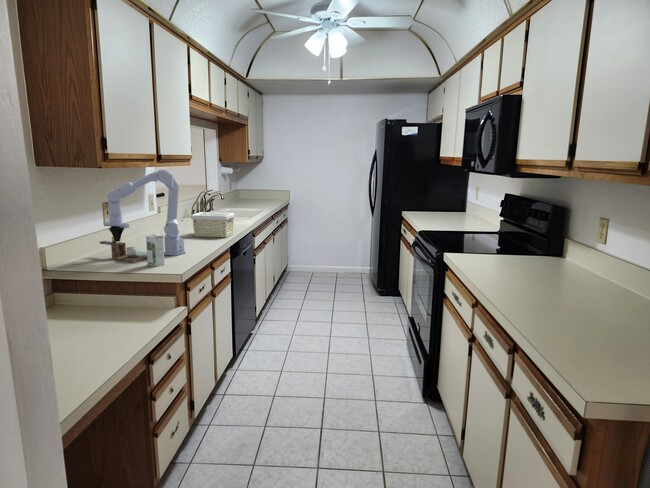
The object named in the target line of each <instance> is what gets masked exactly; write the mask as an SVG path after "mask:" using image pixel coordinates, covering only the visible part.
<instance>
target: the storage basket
mask: <svg viewBox="0 0 650 488" xmlns="http://www.w3.org/2000/svg"><path fill="white" fill-rule="evenodd" d="M234 218H235V213H234V212H214V211H213V212H212V211H211V212H210V211H208V212H207V211H200V212H197V213H194V214H192V215H191V219H192V227H193V231H194V237H195V238H196V237H197V238H228V237H231V236H232V235H233V234H234V221H235V219H234Z"/></svg>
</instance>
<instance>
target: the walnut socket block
mask: <svg viewBox="0 0 650 488" xmlns="http://www.w3.org/2000/svg"><path fill="white" fill-rule="evenodd" d="M118 243H124V242H122V241H118ZM110 246H111V247H110V248H111V249H110V250H111V258H112V260H114V261H116V262H124V263H130V264H134V263H138V262H141V261H145V260H147V255H145V256H142V255H136V258H133V259H129V258H127V255H126V254H127V249H126V248H127V246H126V244H125V245H124V246H119V244H113V243H112V244H111V245H110Z"/></svg>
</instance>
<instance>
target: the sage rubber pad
mask: <svg viewBox="0 0 650 488" xmlns="http://www.w3.org/2000/svg"><path fill="white" fill-rule="evenodd" d="M126 255H127V253H126ZM136 255H142V256H147V251H139V250H138V251H136Z"/></svg>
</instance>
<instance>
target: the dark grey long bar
mask: <svg viewBox="0 0 650 488" xmlns="http://www.w3.org/2000/svg"><path fill="white" fill-rule="evenodd" d="M118 242H119V241H118ZM118 242H115V240H114V237H113V236H111V241H107V240H102V241H99V244H101V245H108V246H111V244H112V243H113V244H119V246H124V245H126V242H123V243H118Z"/></svg>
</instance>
